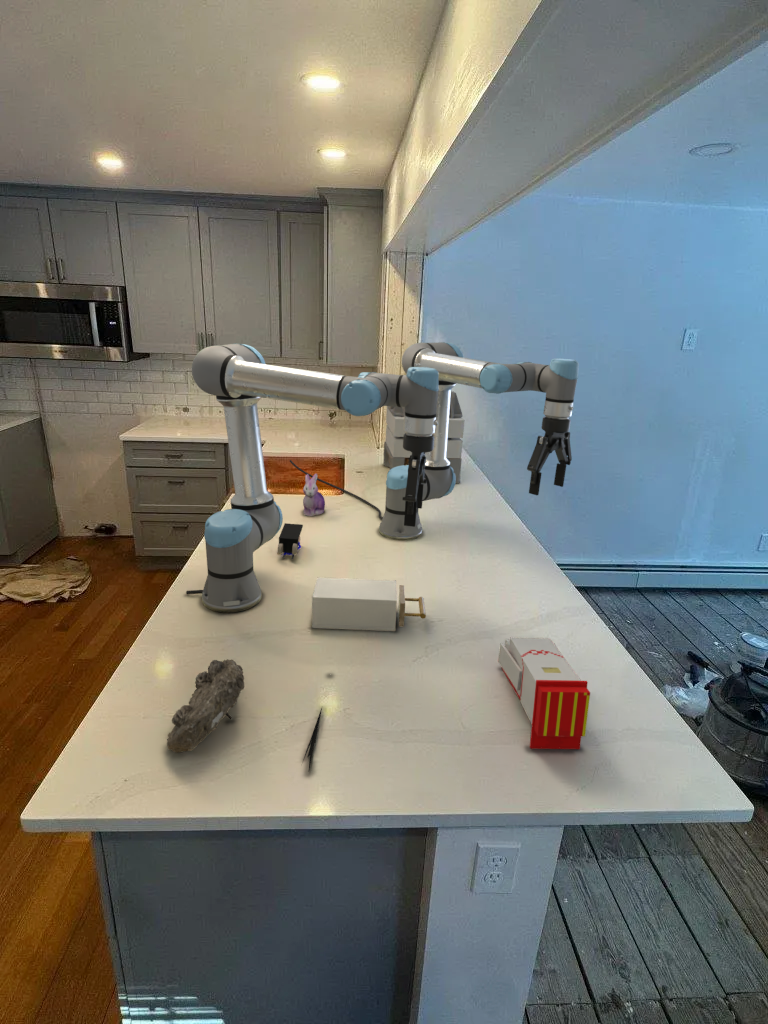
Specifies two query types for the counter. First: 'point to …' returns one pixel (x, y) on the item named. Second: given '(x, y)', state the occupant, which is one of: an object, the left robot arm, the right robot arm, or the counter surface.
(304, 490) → the figurine
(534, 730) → the toy
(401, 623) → the drawer
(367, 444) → the counter surface
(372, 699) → the counter surface
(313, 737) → the feather
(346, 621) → the cabinet
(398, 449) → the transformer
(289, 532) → the figurine character
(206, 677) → the fossil
